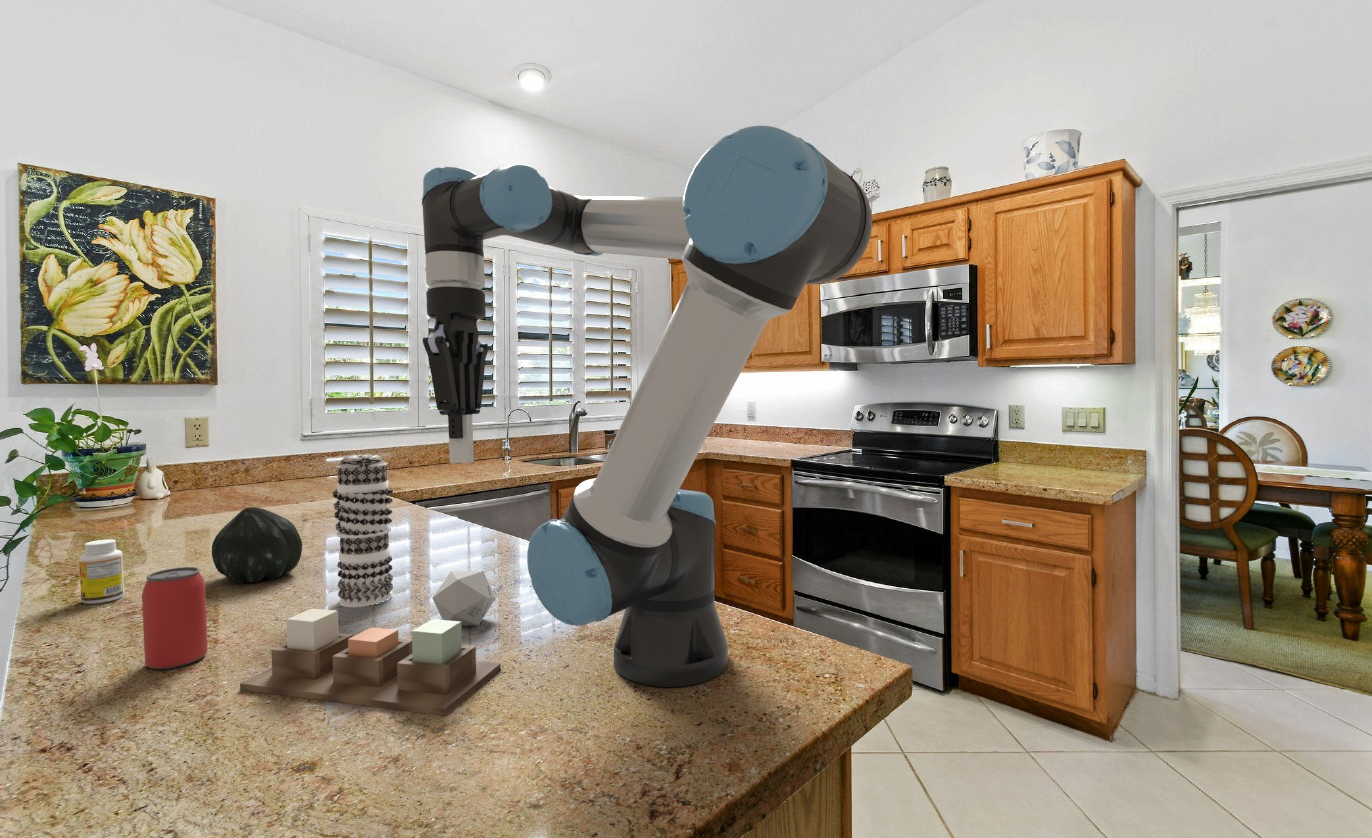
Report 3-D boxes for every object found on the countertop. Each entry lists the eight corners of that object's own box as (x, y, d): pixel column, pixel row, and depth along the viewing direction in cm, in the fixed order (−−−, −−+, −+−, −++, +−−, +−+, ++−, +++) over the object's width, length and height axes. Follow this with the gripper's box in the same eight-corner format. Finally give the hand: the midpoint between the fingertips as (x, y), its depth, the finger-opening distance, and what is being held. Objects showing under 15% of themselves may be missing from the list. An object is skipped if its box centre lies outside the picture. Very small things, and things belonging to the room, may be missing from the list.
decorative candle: (366, 610, 104) (361, 459, 103) (323, 605, 107) (318, 457, 106) (407, 593, 112) (403, 454, 111) (366, 588, 115) (362, 452, 114)
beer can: (138, 675, 80) (134, 582, 80) (153, 656, 86) (149, 569, 86) (202, 665, 83) (198, 575, 83) (212, 647, 89) (209, 563, 89)
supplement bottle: (90, 597, 111) (87, 539, 111) (130, 593, 114) (127, 536, 113) (74, 607, 106) (71, 547, 106) (116, 602, 109) (113, 543, 108)
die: (459, 641, 93) (498, 583, 95) (412, 610, 94) (452, 553, 96) (476, 640, 100) (512, 587, 103) (433, 611, 102) (469, 559, 104)
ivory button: (338, 640, 82) (337, 610, 82) (314, 653, 79) (313, 621, 78) (313, 638, 83) (312, 608, 83) (287, 650, 79) (286, 619, 79)
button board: (500, 669, 82) (500, 638, 82) (445, 715, 70) (444, 680, 70) (318, 650, 88) (317, 621, 88) (240, 689, 76) (238, 657, 76)
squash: (296, 534, 135) (241, 489, 126) (330, 547, 127) (274, 499, 118) (240, 590, 127) (177, 546, 119) (272, 608, 119) (207, 561, 110)
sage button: (461, 653, 78) (461, 621, 78) (442, 666, 74) (441, 633, 74) (433, 650, 79) (432, 619, 79) (412, 663, 75) (411, 630, 75)
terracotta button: (399, 660, 81) (398, 629, 80) (376, 674, 77) (376, 642, 76) (372, 657, 81) (371, 627, 81) (348, 671, 78) (347, 639, 77)
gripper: (456, 297, 93) (461, 457, 94) (401, 282, 80) (407, 467, 81) (503, 295, 91) (509, 457, 92) (455, 278, 79) (461, 467, 79)
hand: (461, 462), depth 86 cm, fingers closed
